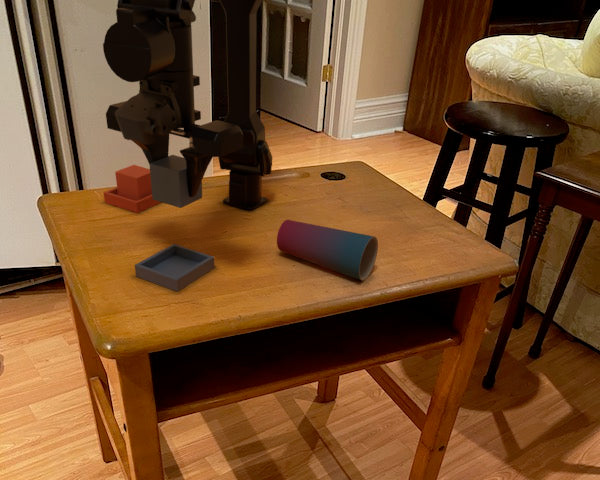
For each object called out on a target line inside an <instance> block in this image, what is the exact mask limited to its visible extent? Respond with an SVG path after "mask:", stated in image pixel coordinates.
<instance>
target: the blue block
mask: <svg viewBox="0 0 600 480" xmlns="http://www.w3.org/2000/svg"><path fill="white" fill-rule="evenodd" d="M148 165H149V169H150V176H151V188H152V199H153V200H156V201H159V202H161V203H163V204H166V205H168V206H172V207H176V208H178V209H179V208H180V209H182V208H184V207H186V206H188V205H191V204H192V203H195V202H196V201H199V200H201V199H202V198H203V180H202V181H201V184H200V186H199V189H198V191H197V194H196V195H195V196H194V197H190V196H189V192H188V186H187V168H186V160H185V158H184V157H183V156H179V155H175V154H171V155H168V157H165V158H162V159H160V160H157V161H154V162H152V163H148Z"/></svg>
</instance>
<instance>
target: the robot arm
mask: <svg viewBox="0 0 600 480" xmlns="http://www.w3.org/2000/svg"><path fill="white" fill-rule="evenodd" d="M218 1H219V2H220V5H221V7H222V9H223V10H224V13H225V41H226V42H225V43H226V79H227V80H226V81H227V115H226V117H225V118H224V120H223V121H222V120H218V119H217V120H213V121H210V122H207V123H204V124H201V125H200V124H198V123H197V124H196V122H197V121H199V120H201V119H202V112H201V110H198V109H195V87H198V86H200V85H201V81H200V79H201V77H200V76H199V75H194V58H193V57H194V55H193V34H192V33H193V31H192V23H194V22H196V20H197V16H196V14H195V12H194V11H193V9H194V6H195V5H194V4H195V2H196V0H117V4H116V7H117V8H116V9H115V14H116V15H115V16H116V22H114V24H111V25H110V26H109V28H108V29H107V30H106V33H105V35H104V40H103V43H102V49H103V54H104V58H105V61H106V63H107V65H108V66H109V68H110V70H111V71H112V72H113V73H114V74H115V76H117V77H118V78H120V79H121V80H123V81H125V82H128V83H136V82H137V83H138V86H139V89H138V93H137V94H136V95H133V96H131V97H129V99H128V100H125V101H121V102H117V103H113V104H109V106H108V108H107V109H106V112H105V120H106V126H107V128H106V129H108V130H113V131H116V132H119V133H121V134H122V137H123V139H124V140H127V141H131V142H133V143H134V144H135V145H136V146H138V147H139V148H140V149H141V150H142V152H143V154H144V156H145V158H146V161H147V162H148V164H149V163H152V162H154V161H157V160H160V159H162V158H165V157H168V156H169V149H170V135H173V136H177V137H180V138H185V139H188V140H189V143H188V147H185V148H183V149H179V153H180V154H181V157H183V158H185V160H186V168H187V186H188V192H189V196H190V197H194V196H195V195H196V194H197V191H198V189H199V186H200V184H201V181H202V182H203V179H204V176H205V174H206V172H207V170H208V167H209V165H210V163H211V161H212V160H213V158H218V163H219V169H220V170H222V171H223V170H226V171H229V173H228V176H229V177H228V179H229V181H228V196H227V197H225V198H223V199H222V203H223V204H226V205H229V206H232V207H236V208H239V209H243V210H246V211H253V210H255V209H256V208H259V207H260V206H262V205H264V204H266V203H267V202H268V201H269V198H268V197H265V196H262V185H263V184H262V181H263V179H262V178H264V177H265V176H266V175H271V174H272V167H273V155H272V152H271V150H270V147H269V144H268V141H266V127H265V125H264V123H263V121H262V120H261V118H260V116H259V114H258V113H257V13H258V10H259V8H260V6H261V4H262V2H263V0H218Z"/></svg>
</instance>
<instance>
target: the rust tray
mask: <svg viewBox="0 0 600 480" xmlns="http://www.w3.org/2000/svg"><path fill="white" fill-rule="evenodd" d="M103 197H104V198H103V200H104V203H106V204H108V205H110V206H115V207H117V208H120V209H122V210H123V209H124V210H127V211H129V212H133V213H136V214H138V213H141V212H143V211H145V210H147V209H150V208H152V207H154V206H156V205H158V204H161V203H162V202H159V201H156V200H153V199H152V194H151V195H149V196H147V197H144V198H142V199H140V200H138V201H134V200H131V199H128V198H125V197H122V196H118V190H117V186H116V187H113V188H111V189H109V190H106V191H104V192H103Z"/></svg>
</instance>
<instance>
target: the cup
mask: <svg viewBox="0 0 600 480" xmlns="http://www.w3.org/2000/svg"><path fill="white" fill-rule="evenodd" d="M276 247H277V248H278V250H279V251H280V252H283V253H285V254H288V255H291V256H293V257H297V258H299V259H302V260H305V261H308V262H310V263H312V264H315V265H319V266H321V267H324V268H326V269H329V270H332V271H335V272H336V273H337V272H338V273H340V274H342V275H346V276H349V277H351V278H354V279H356V280H359V281H362V282H363V281H365V280H367V279H368V278H369V277H370V275H371V273H372V270H373V269H374V266H375V264H376V260H377V256H378V251H379V240H378V238H377V237H376V236H373V235H369V234H364V233H358V232H354V231H348V230H344V229H337V228H332V227H328V226H322V225H318V224H312V223H307V222H302V221H297V220H292V219H285V220H284V221H283V222H282V223H281V225H280V227H279V228H278V231H277V235H276Z"/></svg>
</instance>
